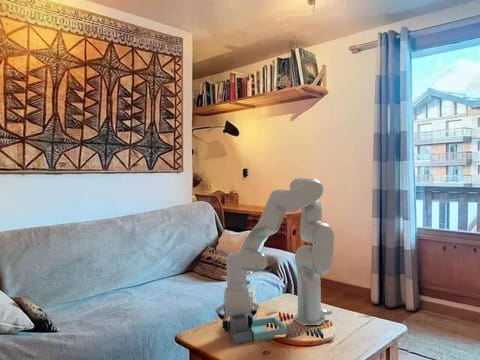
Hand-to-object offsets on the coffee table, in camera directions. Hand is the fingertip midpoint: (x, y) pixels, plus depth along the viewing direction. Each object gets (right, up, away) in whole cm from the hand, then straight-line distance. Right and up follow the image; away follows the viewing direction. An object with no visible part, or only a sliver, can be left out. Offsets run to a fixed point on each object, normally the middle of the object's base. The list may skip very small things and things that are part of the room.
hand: (237, 328), depth 151 cm
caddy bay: (0, -3, 0) cm, 3 cm away
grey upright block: (0, -3, 0) cm, 3 cm away
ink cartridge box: (+5, -2, +15) cm, 16 cm away
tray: (+11, -3, +3) cm, 12 cm away
